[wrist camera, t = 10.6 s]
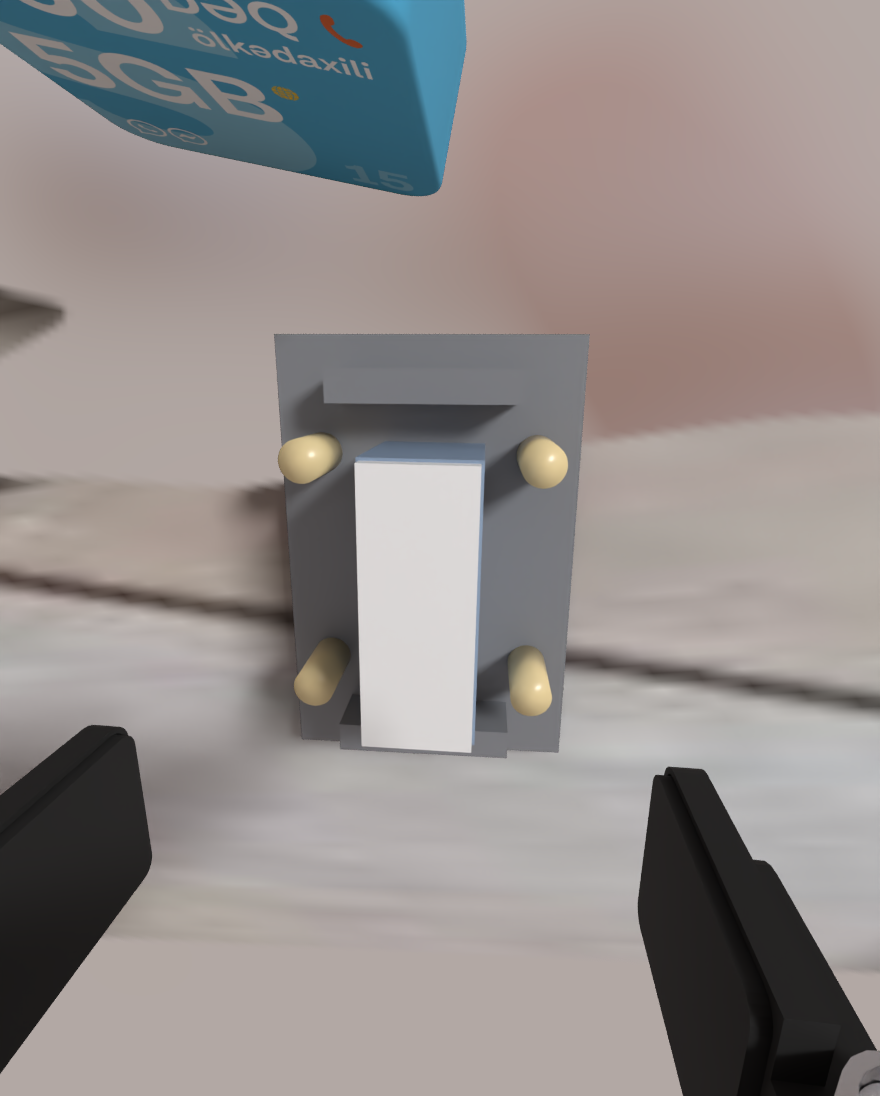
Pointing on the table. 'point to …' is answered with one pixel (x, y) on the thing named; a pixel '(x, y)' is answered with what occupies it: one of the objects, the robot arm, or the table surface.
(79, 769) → the robot arm
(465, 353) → the tray
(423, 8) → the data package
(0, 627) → the table surface
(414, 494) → the block
